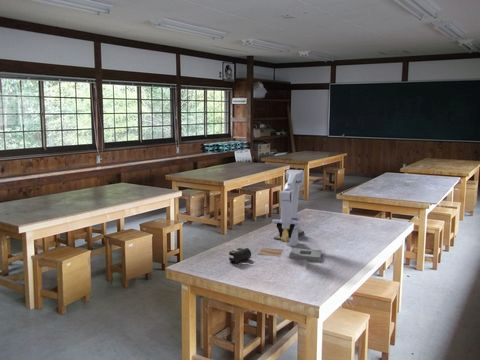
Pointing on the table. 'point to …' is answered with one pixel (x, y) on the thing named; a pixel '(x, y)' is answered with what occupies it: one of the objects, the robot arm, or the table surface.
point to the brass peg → (285, 235)
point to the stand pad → (270, 252)
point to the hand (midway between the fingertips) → (285, 237)
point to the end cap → (239, 255)
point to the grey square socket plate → (306, 254)
